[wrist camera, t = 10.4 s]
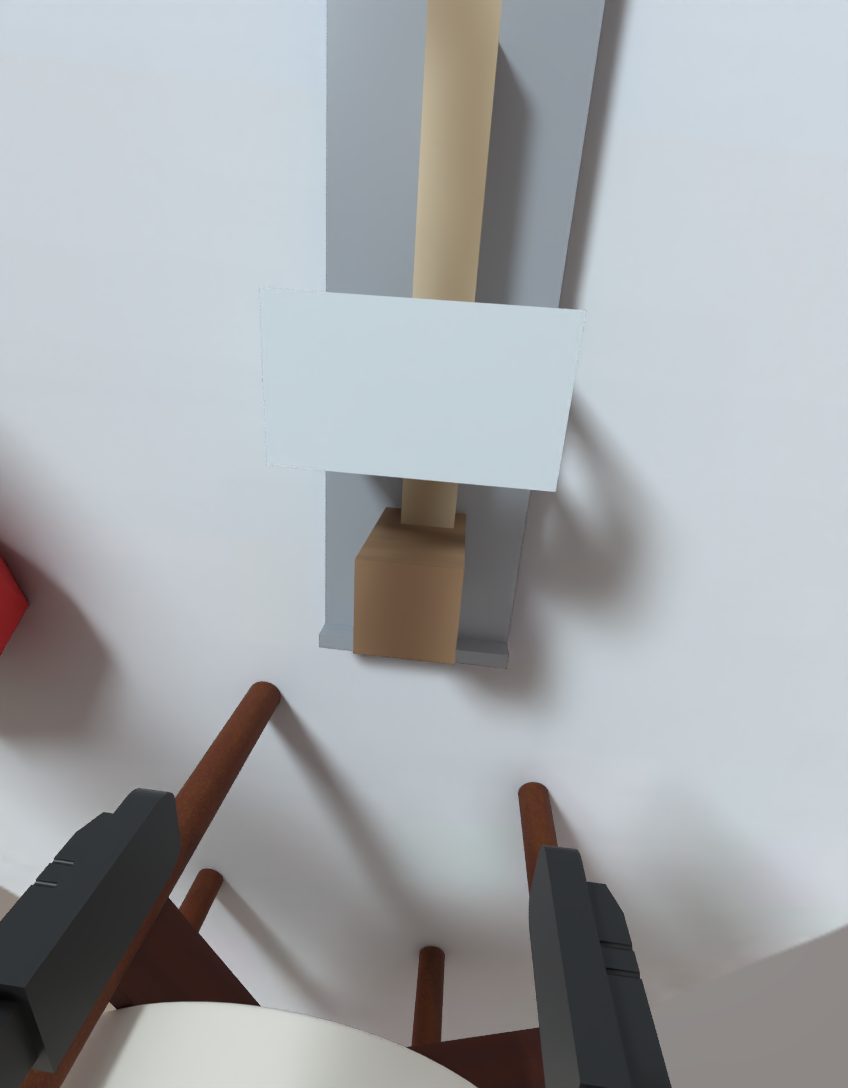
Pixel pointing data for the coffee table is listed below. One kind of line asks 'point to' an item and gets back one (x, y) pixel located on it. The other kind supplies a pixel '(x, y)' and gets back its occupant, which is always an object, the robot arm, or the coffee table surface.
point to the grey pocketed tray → (436, 306)
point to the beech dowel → (451, 184)
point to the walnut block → (409, 590)
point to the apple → (9, 604)
